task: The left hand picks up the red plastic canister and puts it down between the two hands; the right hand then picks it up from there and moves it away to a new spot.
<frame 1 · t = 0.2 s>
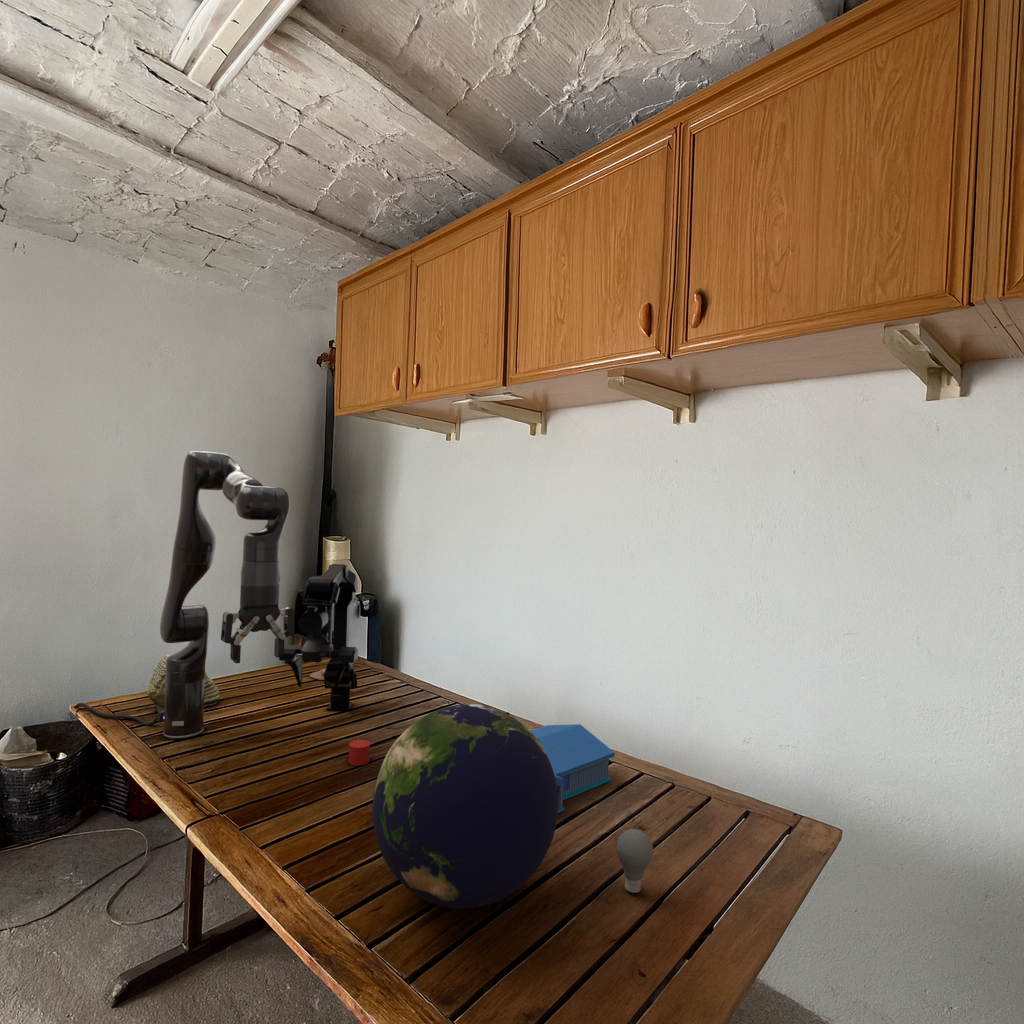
left hand: (257, 659, 132), 29 cm above the table, tool pointing down, fingers open, 8 cm apart
right hand: (318, 687, 162), 14 cm above the table, tool pointing down, fingers open, 9 cm apart
fossil: (183, 706, 185), on the table
model building: (524, 789, 141), on the table
canister: (359, 761, 152), on the table
anatomical model: (330, 676, 222), on the table
globe: (462, 892, 103), on the table
light bulb: (632, 891, 106), on the table
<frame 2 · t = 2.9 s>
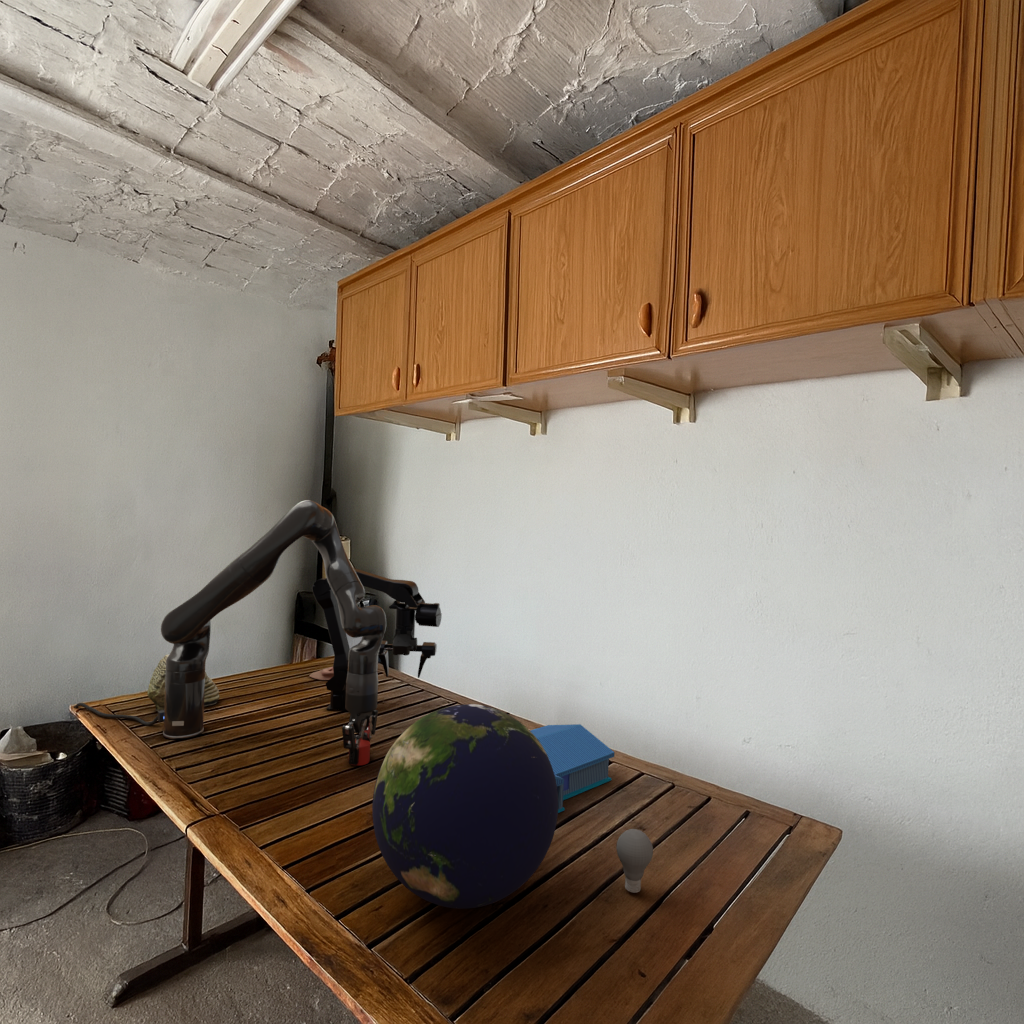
left hand: (359, 759, 152), 1 cm above the table, tool pointing down, fingers closed on canister, 5 cm apart
right hand: (402, 677, 187), 11 cm above the table, tool pointing down, fingers open, 9 cm apart
canister: (359, 761, 152), on the table, touching left hand
everything else where it was.
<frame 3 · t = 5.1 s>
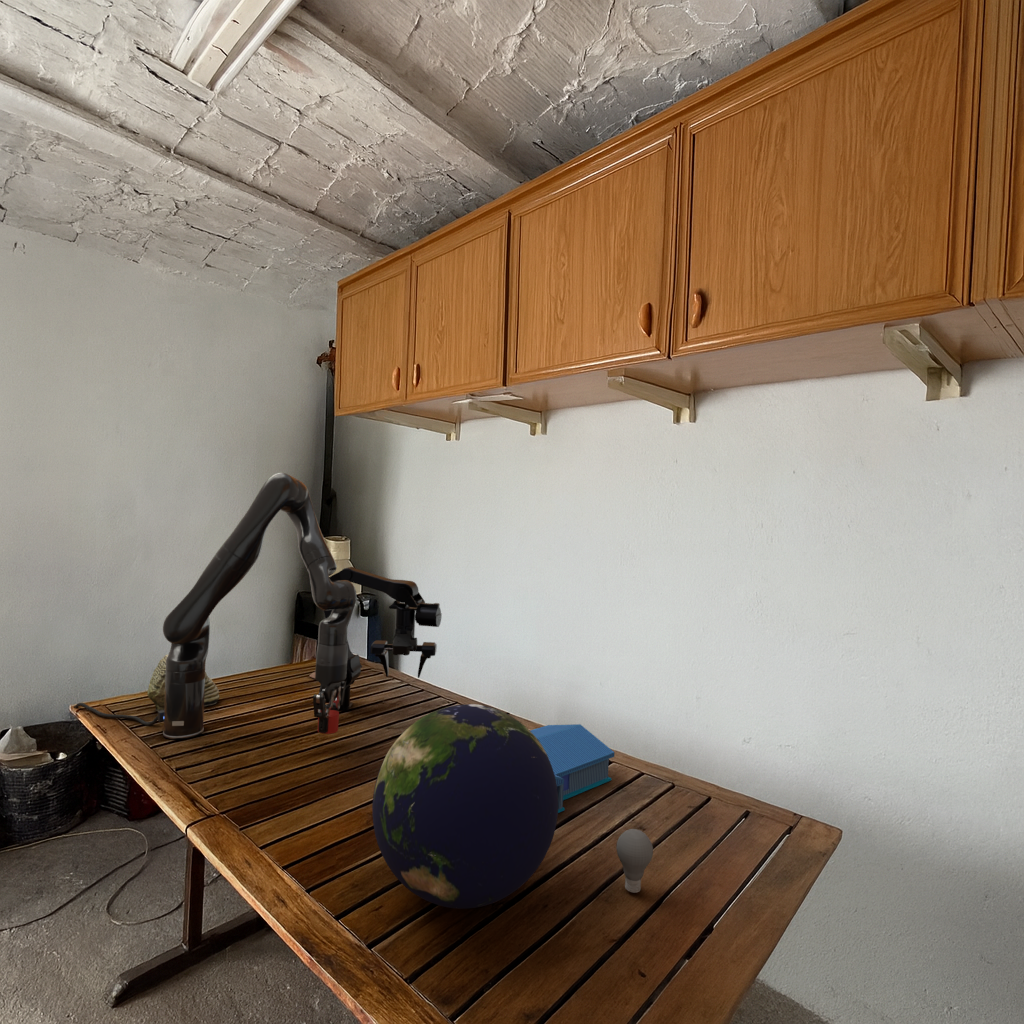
left hand: (328, 728, 158), 6 cm above the table, tool pointing down, fingers closed on canister, 5 cm apart
right hand: (402, 677, 187), 11 cm above the table, tool pointing down, fingers open, 9 cm apart
canister: (327, 730, 158), point 5 cm above the table, touching left hand
everything else where it was.
when the left hand's fingers open (1 cm above the table, at t = 7.1 s): canister stays where it is, on the table.
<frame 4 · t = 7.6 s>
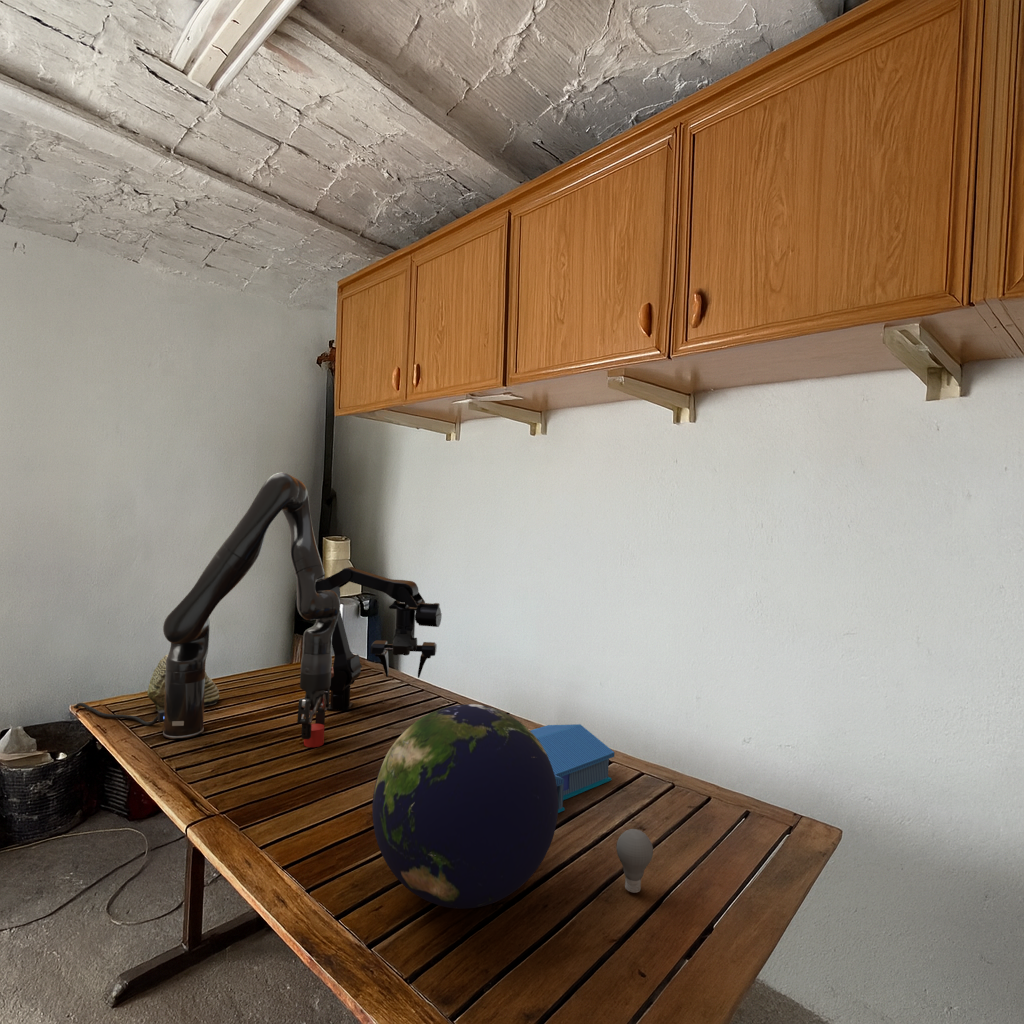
left hand: (313, 732, 161), 3 cm above the table, tool pointing down, fingers open, 8 cm apart
right hand: (402, 677, 187), 11 cm above the table, tool pointing down, fingers open, 9 cm apart
canister: (313, 743, 162), on the table
everything else where it was.
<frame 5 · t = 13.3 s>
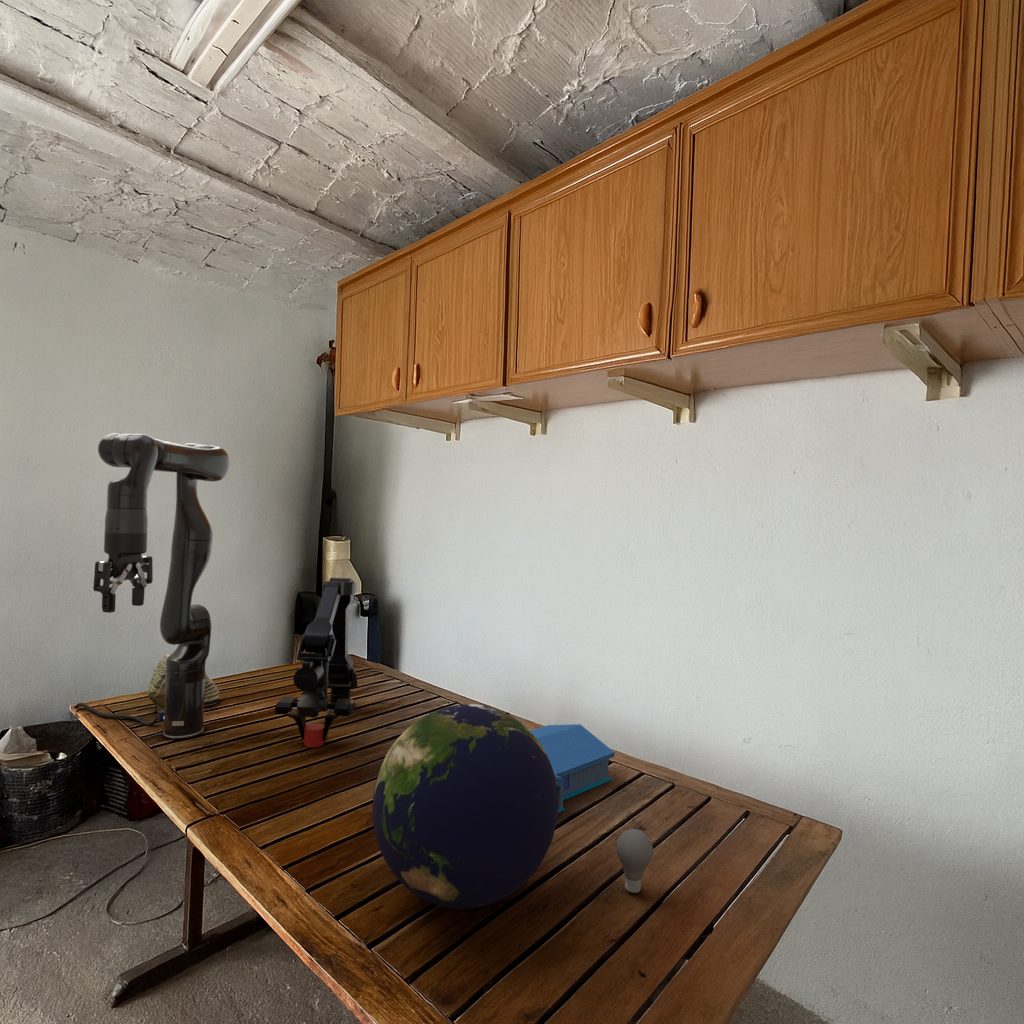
left hand: (123, 608, 131), 38 cm above the table, tool pointing down, fingers open, 8 cm apart
right hand: (314, 739, 162), 1 cm above the table, tool pointing down, fingers closed on canister, 5 cm apart
canister: (313, 743, 162), on the table, touching right hand
everything else where it was.
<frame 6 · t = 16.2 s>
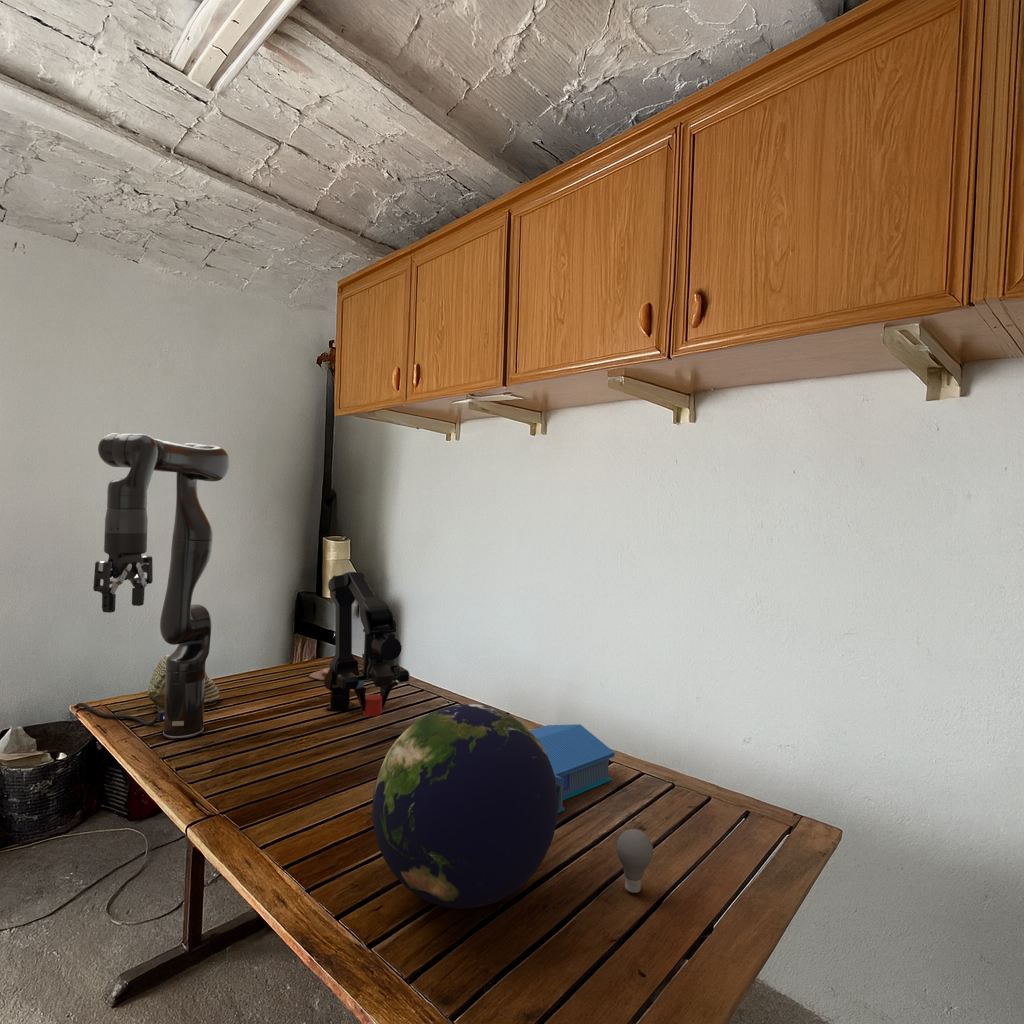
left hand: (123, 608, 131), 38 cm above the table, tool pointing down, fingers open, 8 cm apart
right hand: (372, 709, 170), 7 cm above the table, tool pointing down, fingers closed on canister, 5 cm apart
canister: (372, 713, 170), point 6 cm above the table, touching right hand
everything else where it was.
when the right hand's fingers open (2 cm above the table, at t = 19.3 s): canister stays where it is, on the table.
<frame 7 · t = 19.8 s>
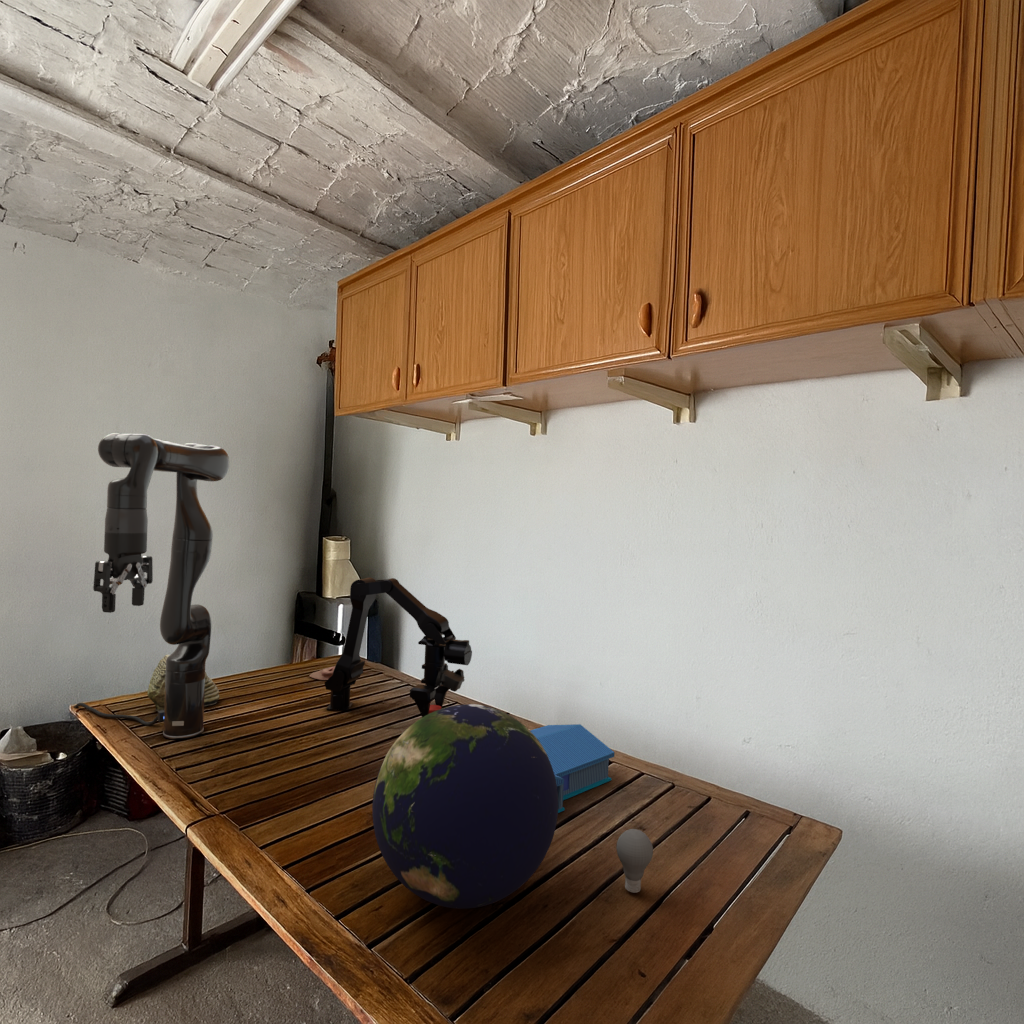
left hand: (123, 608, 131), 38 cm above the table, tool pointing down, fingers open, 8 cm apart
right hand: (432, 715, 181), 2 cm above the table, tool pointing down, fingers open, 9 cm apart
canister: (432, 722, 181), on the table
everything else where it was.
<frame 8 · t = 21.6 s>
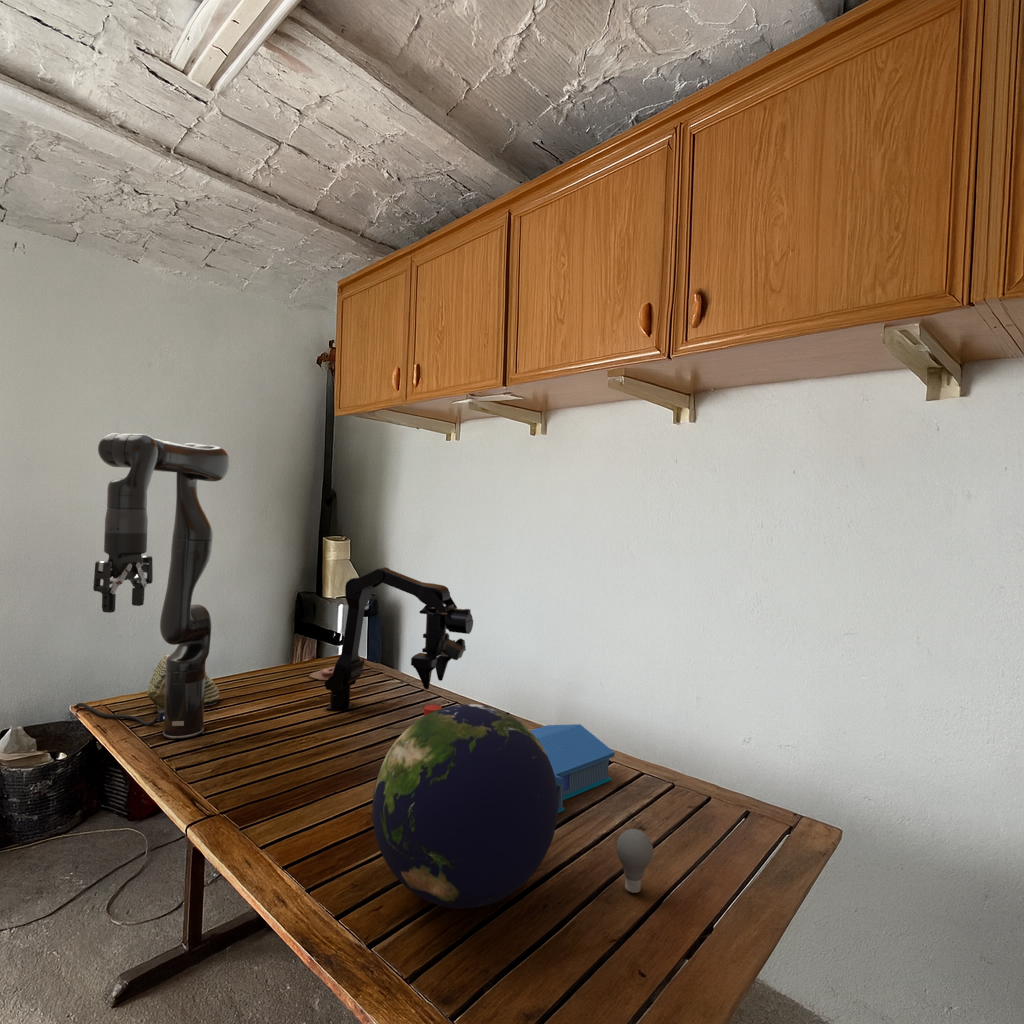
left hand: (123, 608, 131), 38 cm above the table, tool pointing down, fingers open, 8 cm apart
right hand: (433, 684, 181), 11 cm above the table, tool pointing down, fingers open, 9 cm apart
nothing on the table moved.
at the end: canister inside the target area (0.0 cm from its centre), on the table; canister tilted 0°; the two hands never held the canister at the same time; the left hand is holding nothing; the right hand is holding nothing; canister at rest at the end (0.0 cm/s) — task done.
